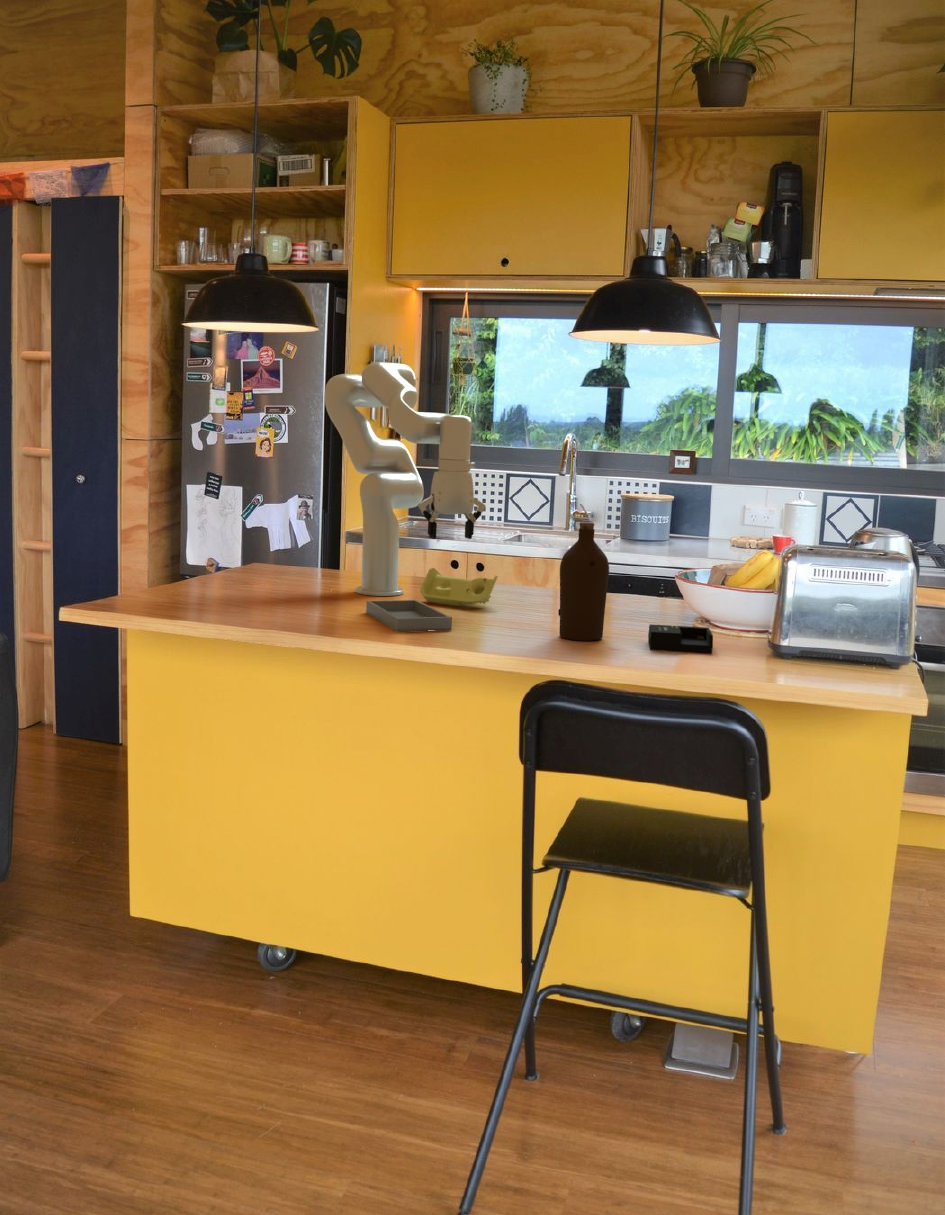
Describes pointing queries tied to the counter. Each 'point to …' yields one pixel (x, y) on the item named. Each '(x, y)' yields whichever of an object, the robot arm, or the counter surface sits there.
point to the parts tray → (408, 615)
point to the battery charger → (680, 639)
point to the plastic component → (456, 589)
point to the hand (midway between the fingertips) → (450, 538)
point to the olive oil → (583, 588)
